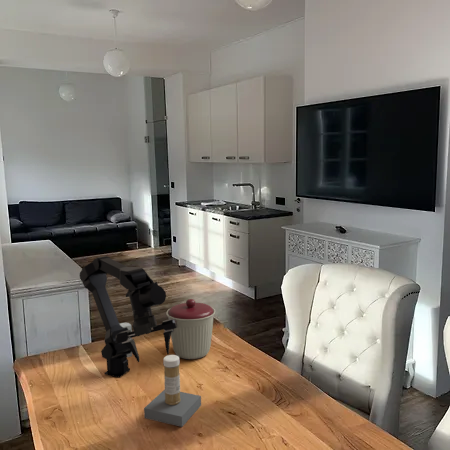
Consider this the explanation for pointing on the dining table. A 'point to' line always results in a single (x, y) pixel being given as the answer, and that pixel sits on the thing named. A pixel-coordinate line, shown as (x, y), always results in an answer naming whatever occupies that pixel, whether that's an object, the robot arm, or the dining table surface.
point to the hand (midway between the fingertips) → (153, 358)
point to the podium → (172, 409)
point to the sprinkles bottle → (172, 379)
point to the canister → (192, 329)
